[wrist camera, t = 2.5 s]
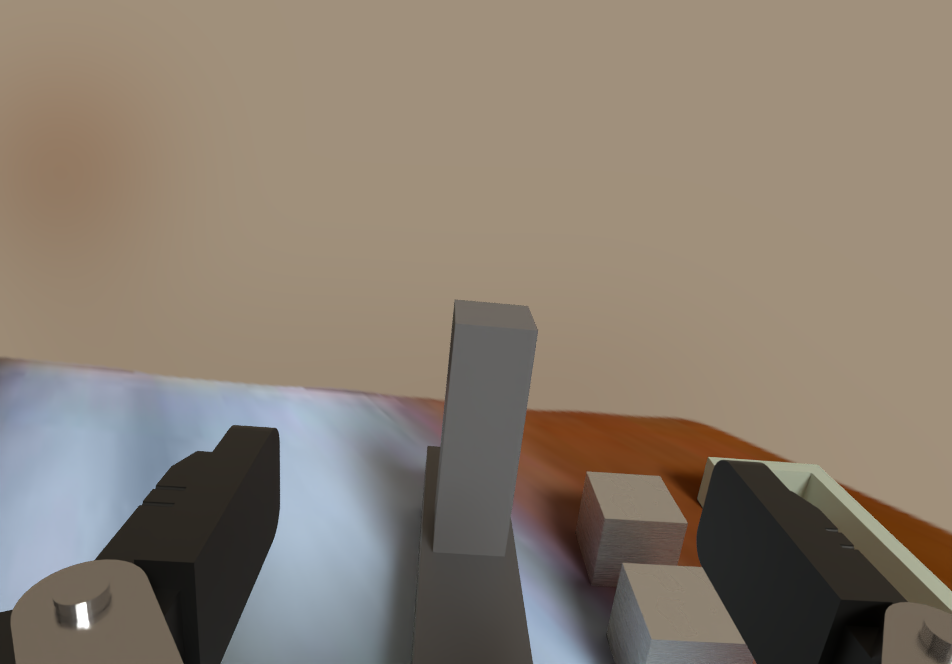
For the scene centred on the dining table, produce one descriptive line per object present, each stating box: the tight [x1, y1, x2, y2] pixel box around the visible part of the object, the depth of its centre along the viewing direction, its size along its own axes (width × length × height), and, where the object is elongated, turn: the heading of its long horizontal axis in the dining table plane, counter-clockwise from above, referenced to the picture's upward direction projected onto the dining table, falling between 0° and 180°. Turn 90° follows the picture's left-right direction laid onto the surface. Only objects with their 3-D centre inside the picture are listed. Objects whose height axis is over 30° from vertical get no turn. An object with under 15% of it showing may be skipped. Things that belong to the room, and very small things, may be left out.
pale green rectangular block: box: [697, 457, 952, 614], centre depth 29 cm, size 7×19×3 cm, turn 2°
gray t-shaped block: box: [411, 300, 538, 664], centre depth 26 cm, size 4×14×14 cm, turn 2°
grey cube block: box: [575, 472, 688, 587], centre depth 31 cm, size 4×4×4 cm
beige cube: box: [606, 563, 754, 664], centre depth 25 cm, size 4×4×4 cm
